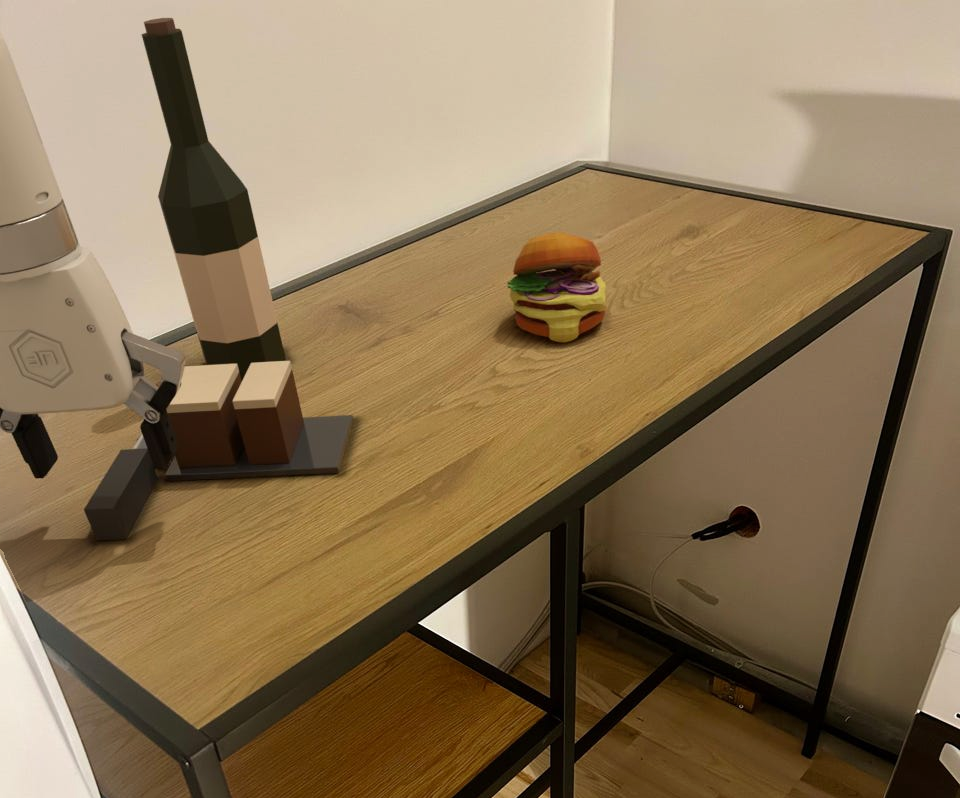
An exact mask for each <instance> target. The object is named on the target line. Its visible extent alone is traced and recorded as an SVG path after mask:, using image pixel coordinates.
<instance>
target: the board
mask: <svg viewBox="0 0 960 798" xmlns="http://www.w3.org/2000/svg"><path fill="white" fill-rule="evenodd" d="M303 420H304V424H303V426H302V429H301V432H300V435H299V438H298V440H297V443H296V446H295V449H294V451H293V454H292V457H291V460H290V463H277V464H256V465H250V464H249V461H248V457H247V453H246V450H245V446H244V447H243V449H242V451H241V454H240V456H239V458H238V461H237V463H236V465H233V466H212V467H191V468H179V466H178V463H177V460H176V457H175V456H173V458H172V460H171V462H170V464H169V465H168V467H167V469H166V472H165V474H164V478H165V481H166V482H175V481H176V482H177V481H178V482H179V481H197V480H218V479H219V480H220V479H239V478H262V477H280V476H281V477H283V476H304V475H306V476H307V475H325V474H328V475H329V474H339V473H340V470H341V467H342V462H343V460H344V455H345V452H346V449H347V445H348V442H349V438H350V435H351V431H352V428H353V424H354V420H355V419H354V416H353V414H345V415H344V414H343V415H327V416H324V415H323V416H307V417H305V416H303Z"/></svg>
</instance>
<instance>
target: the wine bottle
mask: <svg viewBox="0 0 960 798" xmlns="http://www.w3.org/2000/svg"><path fill="white" fill-rule="evenodd" d="M143 25H144V29H145V32H144V33H142V34H141V38H142V42H143V46H144V49H145V53H146V57H147V60H148V64H149V68H150V71H151V75H152V79H153V82H154V87H155V90H156V94H157V98H158V101H159V105H160V109H161V112H162V116H163V117H162V118H163V120H164V123H165V127H166V131H167V132H166V133H167V135H168V139H169V142H170V147H169V150H168V153H167V159H166V163H165V166H164V171H163V175H162V179H161V183H160V187H159V190H158V195H157V198H158V201H159V204H160V209H161V210H162V216H163V219H164V223H165V226H166V229H167V233H168V236H169V241H170V243H171V247H172V250H173V254H174V256H175V260H176V264H177V268H178V271H179V275H180V278H181V281H182V286H183V289H184V292H185V295H186V300H187V303H188V306H189V310H190V313H191V317H192V320H193V325H194V327H195V331H196V335H197V337H198V341H199V344H200V348H201V351H202V356H203V359H204V363H205V365H220V364H237V365H238V369H239V373H240V377H241V381H242V380H243V378H244V376H245V374H246V372H247V370H248V368H249V366H250V364H251V363H257V362H275V361H287V358H286V355H285V350H284V345H283V341H282V337H281V331H280V327H279V323H278V319H277V314H276V311H275V306H274V301H273V298H272V297H273V296H272V293H271V292H272V291H271V289H270V283H269V278H268V274H267V271H266V266H265V261H264V257H263V253H262V248H261V243H260V239H259V235H258V231H257V226H256V221H255V217H254V213H253V212H254V211H253V208H252V205H251V200H250V195H249V189H248V188H247V187H246V186H245V184H244V183H243V181H242V180H241V178H239V176H238V175H237V174H236V172H235V171H234V170H233V169H232V168H231V166H230V165H229V164H228V163H227V161H226V160H225V159H224V158H223V157H222V156H221V154H220V153H219V151H218V150H217V149H216V148H215V146H213V144H212V143H211V142H210V140H209V137H208V133H207V129H206V124H205V121H204V117H203V113H202V109H201V104H200V101H199V96H198V92H197V88H196V84H195V80H194V75H193V72H192V71H193V70H192V68H191V63H190V60H189V55H188V51H187V46H186V43H185V39H184V34H183V30H182V29H180V28H176V24H175V20H174V18H173V17H160V18H152V19H149V20H144V21H143Z"/></svg>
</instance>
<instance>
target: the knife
mask: <svg viewBox="0 0 960 798" xmlns="http://www.w3.org/2000/svg"><path fill="white" fill-rule="evenodd" d="M158 480H159V476H158V473H157V469H155V467H154V465H153V462H152V459H151V456H150V454H149V451H148V448H147V446H146V443H145V440H144V437H143V435H142V434H140V436H139V438H138V439H137V441H136V443H135V445H134V446H133V447H132V448H128V449H127V448H126V449H120V450H119V452H118V453H117V455H116V457H115V458H114V460H113V462H112V463H111V465H110V467H109V468H108V470H107V471H106V473H105V475H104V476H103V478H102V479H101V481H100V483H99V484H98V486H97V488H95V491H94V492H93V494H92V495H91V497H90V499H89V500H88V502H87V504H86V505H85V506H84V508H83V512H84V514H85V516H86V518H87V521H88V523H89V526H90V528H91V531H92V533H93V535H94V537H95V539H96V541H100V542H101V541H121V540H122V541H124V540H126V539H127V538H128V536H129V534H130V532H131V530H132V528H133V526H134V525H135V523H136V521H137V520H138V518H139V515H140V514H141V512H142V510H143V508H144V506H145V505H146V503H147V501H148V499H149V497H150V496H151V493H152V492H153V489H154V488H155V486H156V484H157V482H158Z"/></svg>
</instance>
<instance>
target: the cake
mask: <svg viewBox="0 0 960 798" xmlns="http://www.w3.org/2000/svg"><path fill="white" fill-rule="evenodd" d="M241 382H242V381H241V377H240V373H239V369H238V365H237V364H220V365H206V364H205V365H203V364H202V365H188V366H187V365H186V366H185V367H184V372H183V376H182V380H181V387H180V388H179V390H178V392H177V393H176V395H175V397H174V398H173V400H172V401H171V403H170V404H169V406H168V407H167V409H166V410H167V413H168V416H169V418H170V421H171V424H172V427H173V430H174V433H175V436H176V439H177V443H178V449H177V451H176V453H175V454H174V457H176V460H177V463H178V466H179V468H191V467H212V466H233V465H236V463H237V461H238V458H239V456H240V454H241V451H242V449H243V447H244V442H243V439H242V435H241V431H240V428H239V424H238V420H237V417H236V413H235V409H234V405H233V402H232V401H233V399H234V397H235V395H236V393H237V391H238V389H239V387H240V385H241Z"/></svg>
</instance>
